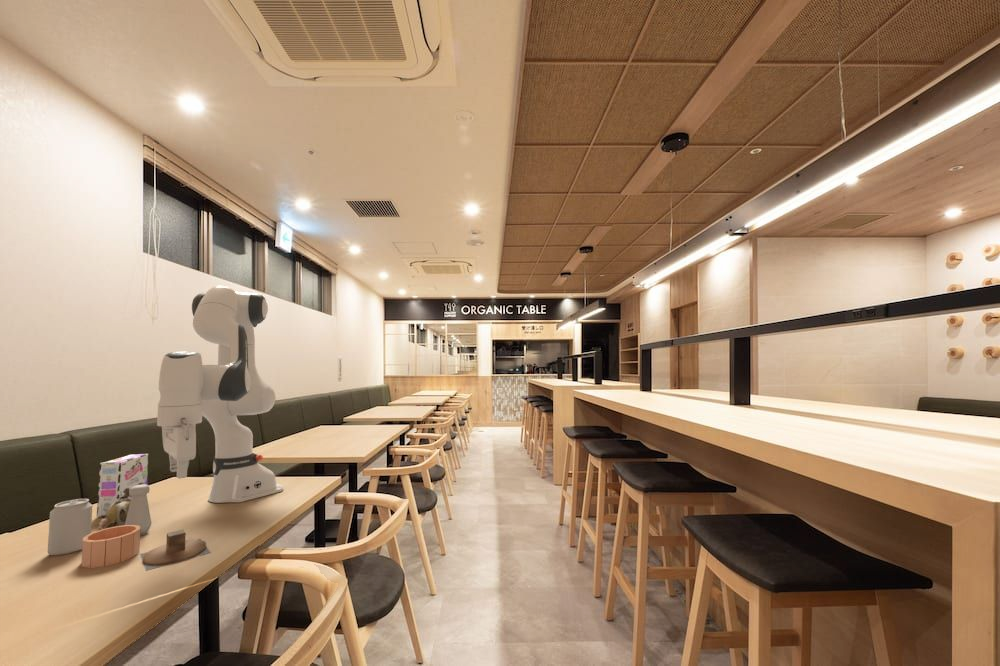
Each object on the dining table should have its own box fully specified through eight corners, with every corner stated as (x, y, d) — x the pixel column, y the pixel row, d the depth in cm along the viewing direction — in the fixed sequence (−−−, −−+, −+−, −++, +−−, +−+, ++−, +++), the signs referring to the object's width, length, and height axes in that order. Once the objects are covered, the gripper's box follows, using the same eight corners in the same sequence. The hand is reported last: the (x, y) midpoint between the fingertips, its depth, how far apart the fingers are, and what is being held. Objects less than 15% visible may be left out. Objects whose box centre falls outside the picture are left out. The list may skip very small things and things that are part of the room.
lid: (200, 538, 110) (200, 519, 111) (210, 552, 102) (211, 532, 102) (140, 554, 102) (141, 533, 102) (146, 570, 93) (147, 548, 94)
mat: (200, 540, 110) (200, 538, 110) (210, 554, 102) (210, 552, 102) (140, 555, 102) (140, 554, 102) (146, 572, 93) (146, 570, 93)
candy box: (117, 516, 130) (120, 461, 131) (95, 518, 129) (98, 462, 130) (147, 502, 143) (149, 452, 145) (127, 503, 143) (130, 453, 144)
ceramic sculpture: (146, 485, 131) (149, 499, 120) (145, 514, 131) (148, 530, 120) (98, 494, 124) (98, 509, 113) (97, 523, 124) (97, 541, 113)
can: (40, 560, 100) (43, 508, 101) (57, 548, 107) (60, 499, 108) (81, 554, 103) (84, 503, 104) (96, 542, 110) (98, 495, 111)
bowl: (136, 546, 107) (137, 521, 108) (141, 558, 100) (142, 532, 101) (81, 559, 100) (82, 533, 101) (81, 573, 93) (83, 545, 94)
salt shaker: (134, 539, 112) (136, 489, 113) (117, 538, 113) (119, 488, 114) (156, 530, 117) (158, 483, 118) (139, 529, 119) (142, 482, 120)
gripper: (204, 418, 99) (202, 479, 98) (188, 413, 114) (186, 465, 113) (171, 421, 95) (168, 485, 94) (158, 415, 109) (155, 470, 108)
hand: (178, 474), depth 103 cm, fingers open, 8 cm apart
